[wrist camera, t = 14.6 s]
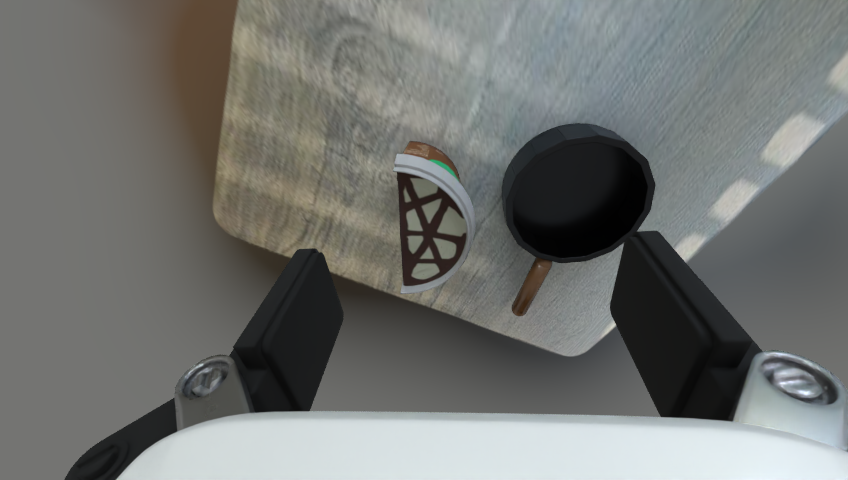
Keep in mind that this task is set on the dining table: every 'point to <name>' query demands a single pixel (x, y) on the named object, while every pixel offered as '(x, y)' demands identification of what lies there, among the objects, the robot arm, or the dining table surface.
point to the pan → (573, 198)
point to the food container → (431, 217)
